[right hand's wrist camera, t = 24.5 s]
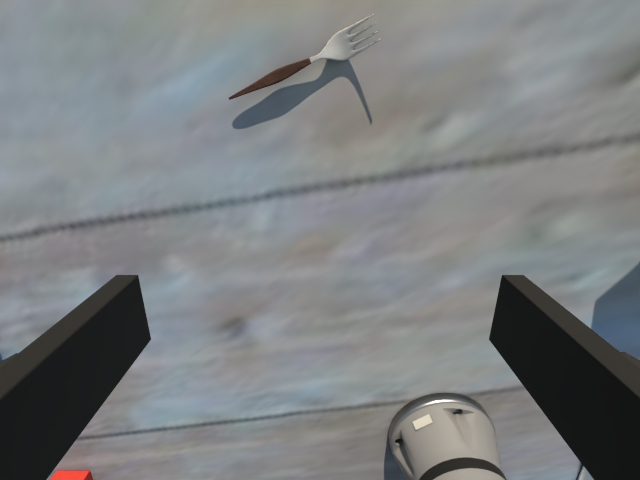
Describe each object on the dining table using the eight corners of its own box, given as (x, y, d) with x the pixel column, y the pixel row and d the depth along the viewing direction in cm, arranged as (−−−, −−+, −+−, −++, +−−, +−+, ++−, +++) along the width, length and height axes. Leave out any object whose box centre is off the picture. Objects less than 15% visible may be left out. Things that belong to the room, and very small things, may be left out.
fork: (224, 86, 36) (218, 84, 34) (370, 17, 33) (372, 11, 32) (235, 111, 36) (231, 111, 35) (378, 45, 34) (382, 41, 32)
